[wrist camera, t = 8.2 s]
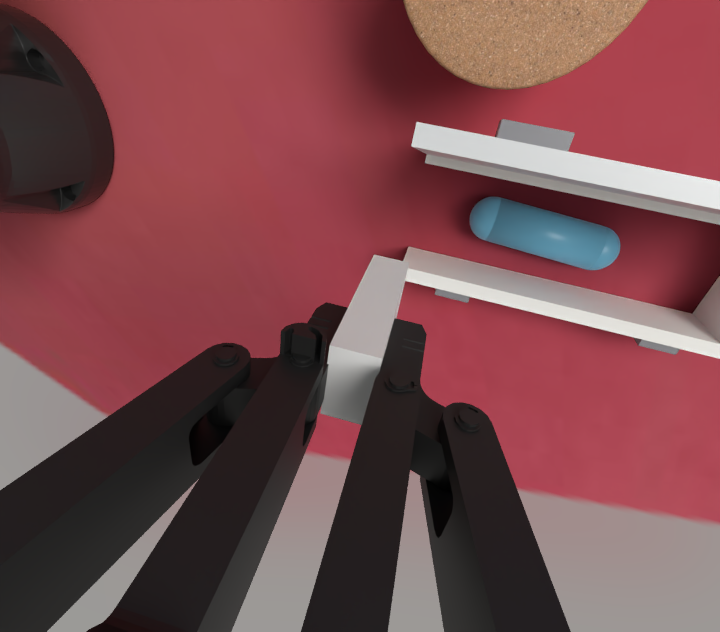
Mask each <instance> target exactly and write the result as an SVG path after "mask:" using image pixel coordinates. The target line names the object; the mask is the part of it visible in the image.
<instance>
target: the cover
mask: <svg viewBox="0 0 720 632" xmlns="http://www.w3.org/2000/svg"><path fill="white" fill-rule="evenodd" d="M574 134H575V133H573V132H568V131H562V130H557V129H552V128H547V127H541V126H536V125H531V124H526V123H520V122H515V121H510V120H505V119H502V120H501V121H499V125H498V128H497V131H496V135H495V137H491V136H486V135H481V134H476V133H471V132H466V131H461V130H456V129H451V128H446V127H441V126H435V125H430V124H425V123H420V122H417V123H416V127H415V132H414V136H413V141H412V145H411V146H412V147H414V148H415V149H417V150H419V151H421V152H423V153H425V154H429V155H433V156H438V157H443V158H448V159H453V160H458V161H462V162H467V163H472V164H477V165H482V166H487V167H491V168H496V169H501V170H506V171H511V172H516V173H520V174H525V175H530V176H535V177H540V178H545V179H549V180H554V181H559V182H564V183H569V184H574V185H579V186H583V187H588V188H593V189H598V190H603V191H608V192H612V193H617V194H622V195H627V196H632V197H637V198H641V199H646V200H651V201H656V202H661V203H666V204H670V205H675V206H680V207H685V208H690V209H695V210H699V211H704V212H709V213H714V214H719V215H720V182H719V181H714V180H709V179H704V178H699V177H694V176H689V175H684V174H679V173H674V172H669V171H664V170H658V169H653V168H648V167H643V166H638V165H633V164H628V163H623V162H618V161H613V160H608V159H603V158H598V157H593V156H588V155H582V154H577V153H572V152H568V150H569V147H570V145H571V142H572V139H573V137H574Z"/></svg>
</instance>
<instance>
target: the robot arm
mask: <svg viewBox="0 0 720 632" xmlns="http://www.w3.org/2000/svg"><path fill="white" fill-rule="evenodd" d="M113 157H114V154H113V140H112V134H111V129H110V125H109V121H108V117H107V114H106V111H105V108H104V106H103V103H102V101H101V98H100V96H99V94H98V92H97V90H96V88H95V86H94V84H93V82H92V80H91V79H90V77H89V75H88V74H87V72H86V70H85V69H84V68H83V66H82V65H81V63H80V62H79V60H78V59H77V58H76V56H75V55H74V54H73V53H72V51H71V50H70V49H69V48H68V47H67V46H66V45H65V43H64V42H63V41H62V40H61V39H60V38H59V37H58V36H57V35H56V34H55V33H53V32H52V31H51V30H50V29H49V28H48V27H46V26H45V25H44V24H43V23H41V22H40V21H38V20H37V19H35V18H34V17H32V16H31V15H29V14H27V13H25V12H23V11H21V10H19V9H16V8H14V7H11V6H8V5H4V4H0V212H7V213H40V214H54V213H61V212H66V211H69V210H72V209H76V208H79V207H82V206H85V205H87V204H89V203H91V202H93V201H94V200H96V199H97V198H98V197H99V196H100V195H101V194H102V193H103V191H104V190H105V188H106V186H107V185H108V182H109V180H110V177H111V173H112V168H113ZM408 267H409V262H404V261H400V260H396V259H391V258H387V257H383V256H378V255H374V256H373V258H372V260H371V262H370V264H369V266H368V268H367V270H366V272H365V274H364V276H363V278H362V280H361V282H360V284H359V286H358V288H357V290H356V292H355V294H354V297H353V299H352V301H351V303H350V305H349V307H348V308H347V307H343V306H339V305H334V304H330V303H325V304H323V305H321V306H320V307H318V308H317V309H316V310H315V312H314V313H313V315H312V317H311V318H310V320H309V321H308V323H295V324H291V325H288V326H286V327H285V328H284V329H283V330H281V344H280V354H279V356H278V357H274V358H250V353H249V351H248V350H247V349H246V348H244V347H243V346H241V345H238V344H235V343H222V344H217V345H214V346H212V347H210V348H208V349H206V350H205V351H204V352H202V353H201V354H199V355H198V356H196V357H195V358H193V359H192V360H190V361H189V362H187V363H186V364H185V365H183V366H182V367H180V368H179V369H177V370H176V371H174V372H173V373H171V374H170V375H168V376H167V377H166V378H164V379H163V380H161V381H160V382H158V383H157V384H155V385H154V386H152V387H151V388H149V389H148V390H146V391H145V392H144V393H142V394H141V395H139V396H138V397H136V398H135V399H133V400H132V401H130V402H129V403H127V404H126V405H125V406H123V407H122V408H120V409H119V410H117V411H116V412H114V413H113V414H111V415H110V416H108V417H107V418H106V419H104V420H103V421H101V422H100V423H98V424H97V425H95V426H94V427H92V428H91V429H89V430H88V431H86V432H85V433H84V434H82V435H81V436H79V437H78V438H77V439H75V440H73V441H72V442H70V443H69V444H68V445H66V446H65V447H63V448H62V449H60V450H59V451H57V452H56V453H54V454H53V455H51V456H50V457H48V458H47V459H46V460H44V461H43V462H41V463H40V464H38V465H37V466H36V467H34V468H32V469H31V470H29V471H28V472H27V473H25V474H24V475H22V476H21V477H19V478H18V479H16V480H15V481H13V482H12V483H10V484H9V485H7V486H6V487H5V488H3V489H2V490H0V632H47V630H49V629H50V628H51V627H52V626H53V625H54V624H55V623H56V622H57V620H59V618H61V617H62V616H63V615H64V613H66V611H68V609H70V607H71V606H72V605H73V604H74V603H75V602H76V601H77V600H78V599H79V598H80V597H81V596H82V595H83V594H84V593H85V592H86V591H87V590H88V589H89V588H90V587H91V586H92V585H93V584H94V583H95V582H96V581H97V580H98V579H99V578H100V577H101V576H102V575H103V574H104V573H105V572H106V571H107V570H108V569H109V568H110V567H111V566H112V565H113V564H114V563H115V562H116V561H117V560H118V559H119V558H120V557H121V556H122V555H123V554H124V553H125V552H126V551H127V550H128V549H129V548H130V547H131V546H132V545H133V544H134V543H135V542H136V541H137V540H138V539H139V538H140V537H141V536H142V535H143V534H144V533H145V532H146V531H147V530H148V529H149V528H150V527H151V526H152V525H153V524H154V523H155V522H156V521H157V520H158V519H159V518H160V517H161V516H162V515H163V514H164V513H165V512H166V511H167V510H168V509H169V508H170V507H171V506H172V505H173V504H174V503H175V502H176V501H177V500H178V499H179V498H180V497H181V496H182V495H183V494H184V493H185V492H186V491H187V490H188V489H189V488H190V487H191V486H192V485H193V484H194V483H195V482H196V481H197V480H198V479H199V480H198V482H197V483H196V484H195V486H194V488H193V489H192V491H191V492H190V494H189V495H188V497H187V498H186V500H185V501H184V503H183V505H182V506H181V508H180V509H179V511H178V512H177V514H176V515H175V517H174V518H173V520H172V521H171V523H170V525H169V526H168V528H167V529H166V531H165V532H164V534H163V535H162V537H161V539H160V540H159V542H158V543H157V545H156V546H155V548H154V549H153V551H152V552H151V554H150V556H149V557H148V559H147V560H146V562H145V563H144V565H143V566H142V568H141V569H140V571H139V573H138V574H137V576H136V577H135V579H134V580H133V582H132V583H131V585H130V586H129V588H128V589H127V591H126V593H125V594H124V596H123V597H122V599H121V600H120V602H119V603H118V605H117V606H116V608H115V609H114V611H113V612H112V613H111V615H110V616H109V617H108V618H107V619H106V620H105V621H104V622H103V623H101V624H99V625H97V626H95V627H93V628H91V629H89V630H88V631H87V632H231V631H232V628H233V626H234V623H235V621H236V619H237V616H238V614H239V611H240V609H241V606H242V604H243V601H244V599H245V597H246V594H247V592H248V589H249V587H250V585H251V582H252V580H253V577H254V575H255V573H256V570H257V568H258V565H259V563H260V560H261V558H262V555H263V553H264V551H265V548H266V546H267V543H268V541H269V539H270V536H271V534H272V531H273V529H274V526H275V524H276V522H277V519H278V517H279V514H280V512H281V510H282V507H283V505H284V502H285V500H286V497H287V495H288V493H289V490H290V487H291V485H292V483H293V480H294V478H295V476H296V473H297V471H298V468H299V466H300V464H301V461H302V459H303V456H304V454H305V451H306V449H307V447H308V444H309V442H310V439H311V437H312V434H313V432H314V430H315V427H316V421H317V414H318V412H319V410H320V407H321V405H322V407H321V414H324V415H328V416H332V417H335V418H339V419H342V420H346V421H350V422H353V423H357V424H361V428H360V432H359V435H358V439H357V442H356V446H355V449H354V452H353V456H352V459H351V463H350V466H349V469H348V473H347V476H346V480H345V483H344V487H343V490H342V493H341V497H340V500H339V504H338V507H337V510H336V514H335V518H334V521H333V524H332V527H331V531H330V534H329V538H328V541H327V545H326V548H325V552H324V555H323V558H322V562H321V565H320V568H319V572H318V576H317V579H316V583H315V586H314V589H313V592H312V596H311V599H310V603H309V606H308V609H307V613H306V616H305V620H304V623H303V627H302V630H301V632H388V625H389V618H390V610H391V603H392V596H393V588H394V582H395V574H396V567H397V559H398V553H399V545H400V537H401V531H402V523H403V516H404V509H405V501H406V494H407V487H408V480H409V473H410V470H412V471H414V472H415V473H417V474H418V475H420V482H421V489H422V495H423V501H424V507H425V513H426V520H427V526H428V532H429V538H430V545H431V551H432V558H433V564H434V570H435V577H436V583H437V589H438V595H439V602H440V607H441V614H442V621H443V627H444V632H571V631H570V629H569V626H568V624H567V621H566V618H565V616H564V613H563V610H562V608H561V605H560V602H559V600H558V597H557V595H556V592H555V589H554V586H553V584H552V581H551V579H550V576H549V573H548V571H547V568H546V566H545V563H544V560H543V557H542V555H541V552H540V549H539V547H538V544H537V541H536V539H535V536H534V534H533V531H532V528H531V526H530V523H529V520H528V518H527V515H526V512H525V510H524V507H523V504H522V502H521V499H520V496H519V494H518V491H517V488H516V486H515V483H514V480H513V478H512V475H511V472H510V470H509V467H508V465H507V462H506V459H505V457H504V454H503V451H502V449H501V446H500V443H499V441H498V438H497V435H496V433H495V430H494V427H493V425H492V423H491V421H490V419H489V418H488V416H487V415H486V414H485V413H484V412H483V411H481V410H480V409H479V408H477V407H475V406H473V405H470V404H466V403H452V404H450V405H448V406H447V407H444V406H442V405H440V404H438V403H436V402H435V401H433V400H432V399H430V398H429V397H428V396H427V395H426V394H425V393H424V391H423V390H422V388H421V385H420V376H421V369H422V362H423V355H424V348H425V341H426V333H425V331H424V328H423V326H422V325H420V324H416V323H412V322H408V321H404V320H400V319H396V317H397V313H398V309H399V305H400V301H401V296H402V292H403V288H404V284H405V279H406V275H407V271H408Z"/></svg>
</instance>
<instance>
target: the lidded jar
mask: <svg viewBox="0 0 720 632" xmlns="http://www.w3.org/2000/svg"><path fill="white" fill-rule="evenodd" d="M647 1H648V0H403V2H404V5H405V9H406V12H407V15H408V18H409V20H410V22H411V24H412V26H413V29H414V31H415V33H416V35H417V37H418V38H419V40H420V41H421V42H422V44H423V45H424V47H425V48H426V50H427V51H428V53H429V54H430V55H431V56H432V57H433V58H434V59H435V60H436V61H437V62H438V63H439V64H440V65H441V66H442V67H444V68H445V69H446V70H448V71H449V72H451V73H452V74H453V75H455V76H456V77H458V78H461V79H463V80H465V81H467V82H469V83H471V84H475V85H478V86H482V87H486V88H492V89H506V90H509V89H519V88H528V87H532V86H536V85H539V84H543V83H547V82H550V81H552V80H554V79H557V78H559V77H561V76H564V75H566V74H568V73H570V72H571V71H573V70H575V69H576V68H578V67H580V66H581V65H583V64H585V63H586V62H588V61H589V60H591V59H592V58H593V57H595V56H596V55H597V54H598V53H600V52H601V51H602V50H603V49H605V48H606V47H607V46H609V45H610V44H611V43H612V42H613V41H614V40H615V39H616V38H617V37H618V36H619V35H620V34H621V33H622V32H623V31H624V30H625V29H626V28H627V27H628V25H629V24H630V23H631V22H632V20H633V19H634V18H635V17H636V15H637V14H638V13H639V12H640V10H641V9H642V8H643V7H644V5H645V4H646V3H647Z"/></svg>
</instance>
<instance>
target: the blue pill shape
mask: <svg viewBox="0 0 720 632" xmlns="http://www.w3.org/2000/svg"><path fill="white" fill-rule="evenodd" d="M469 222H470V227H471V230H472V231H473V233H474V234H475V235H476V236H477V237H478V238H480V239H482V240H485V241H488V242H492V243H495V244H499V245H502V246H506V247H509V248H513V249H516V250H519V251H523V252H526V253H530V254H533V255H537V256H540V257H544V258H547V259H551V260H554V261H558V262H561V263H565V264H568V265H572V266H575V267H579V268H582V269H586V270H599V269H602V268H605V267H607V266H609V265H610V264H611V263H613V262H614V260H615V259H616V258H617V256H618V255H619V252H620V240H619V238H618V236H617V234H616V233H615V232H614V231H613V230H612V229H610V228H608V227H605V226H602V225H599V224H595V223H591V222H588V221H584V220H581V219H577V218H573V217H570V216H566V215H563V214H559V213H555V212H552V211H548V210H545V209H541V208H537V207H534V206H530V205H527V204H523V203H519V202H516V201H512V200H508V199H505V198H501V197H496V196H494V197H487V198H485V199H482V200H481V201H479V202H478V203H477V204H476V205H475V206H474V208H473V209H472V211H471V214H470V220H469Z"/></svg>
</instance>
